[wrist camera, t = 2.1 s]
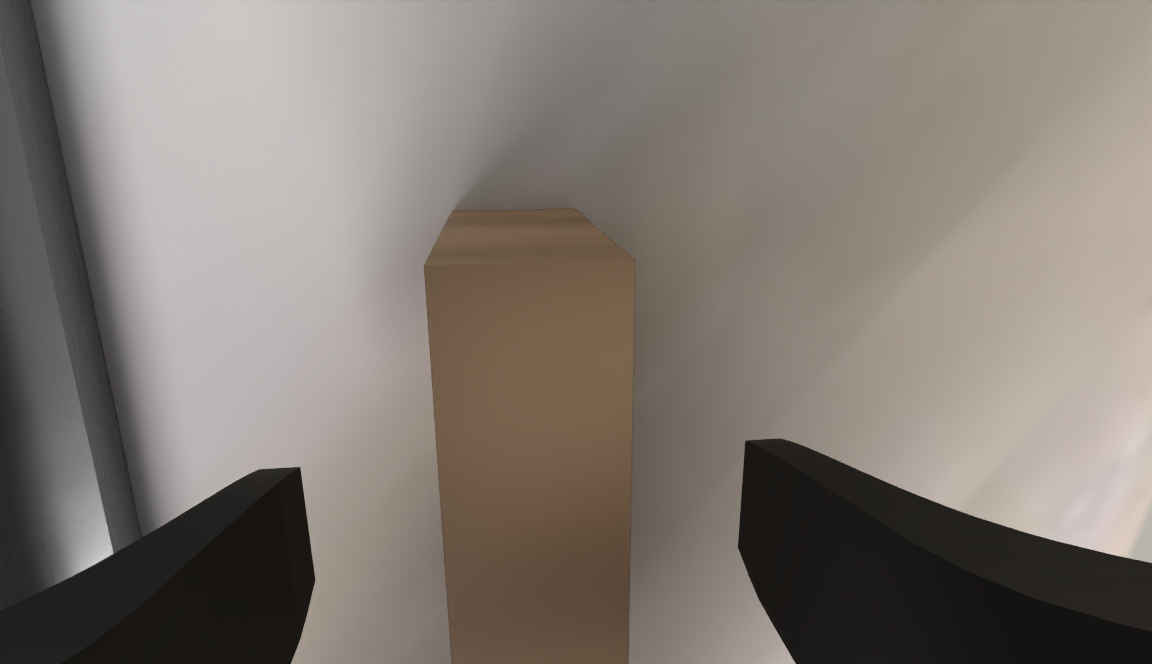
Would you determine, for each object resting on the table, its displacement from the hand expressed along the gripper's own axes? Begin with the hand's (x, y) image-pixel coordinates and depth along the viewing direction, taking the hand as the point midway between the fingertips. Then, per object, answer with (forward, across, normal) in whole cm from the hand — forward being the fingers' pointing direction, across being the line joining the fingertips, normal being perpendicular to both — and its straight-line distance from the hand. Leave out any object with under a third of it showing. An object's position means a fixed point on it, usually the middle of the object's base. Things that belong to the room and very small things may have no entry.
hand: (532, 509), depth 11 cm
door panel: (+4, 0, 0) cm, 4 cm away
